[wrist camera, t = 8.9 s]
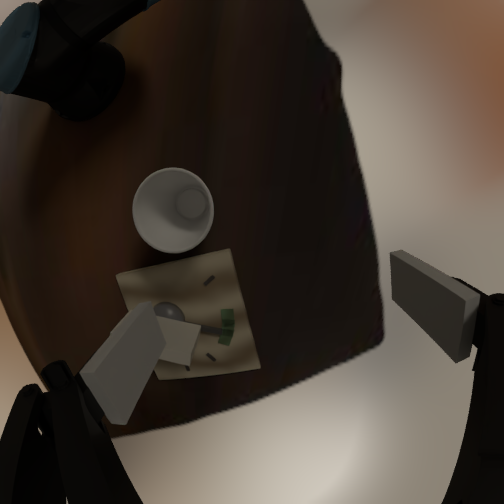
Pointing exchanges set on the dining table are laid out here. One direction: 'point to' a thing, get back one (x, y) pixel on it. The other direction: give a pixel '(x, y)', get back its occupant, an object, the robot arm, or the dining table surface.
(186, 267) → the board
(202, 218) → the cup
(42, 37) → the robot arm
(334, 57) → the dining table surface
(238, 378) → the dining table surface
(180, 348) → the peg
